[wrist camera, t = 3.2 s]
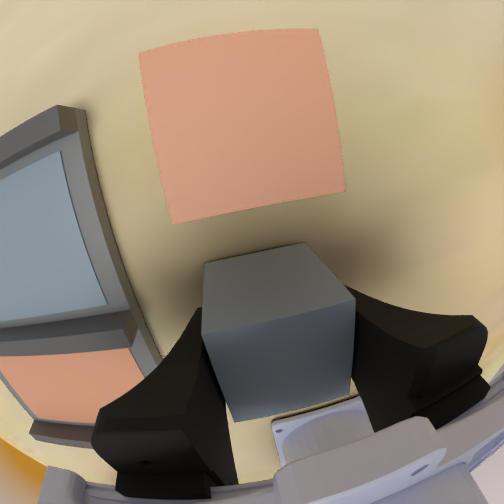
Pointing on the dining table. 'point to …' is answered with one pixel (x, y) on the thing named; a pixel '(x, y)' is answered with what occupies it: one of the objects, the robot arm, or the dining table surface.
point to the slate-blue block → (277, 331)
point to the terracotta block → (242, 121)
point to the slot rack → (63, 283)
